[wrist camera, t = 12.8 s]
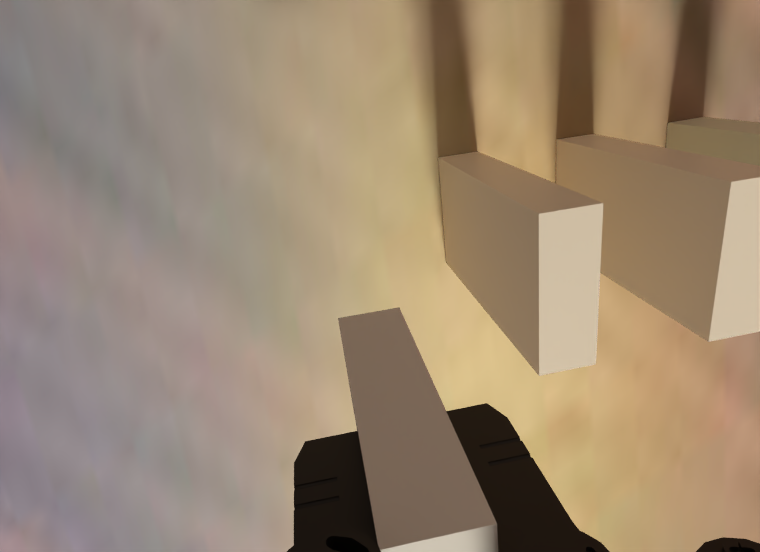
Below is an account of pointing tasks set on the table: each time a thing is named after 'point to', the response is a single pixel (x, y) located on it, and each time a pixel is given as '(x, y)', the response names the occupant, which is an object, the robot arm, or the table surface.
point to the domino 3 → (716, 138)
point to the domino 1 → (526, 256)
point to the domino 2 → (674, 228)
